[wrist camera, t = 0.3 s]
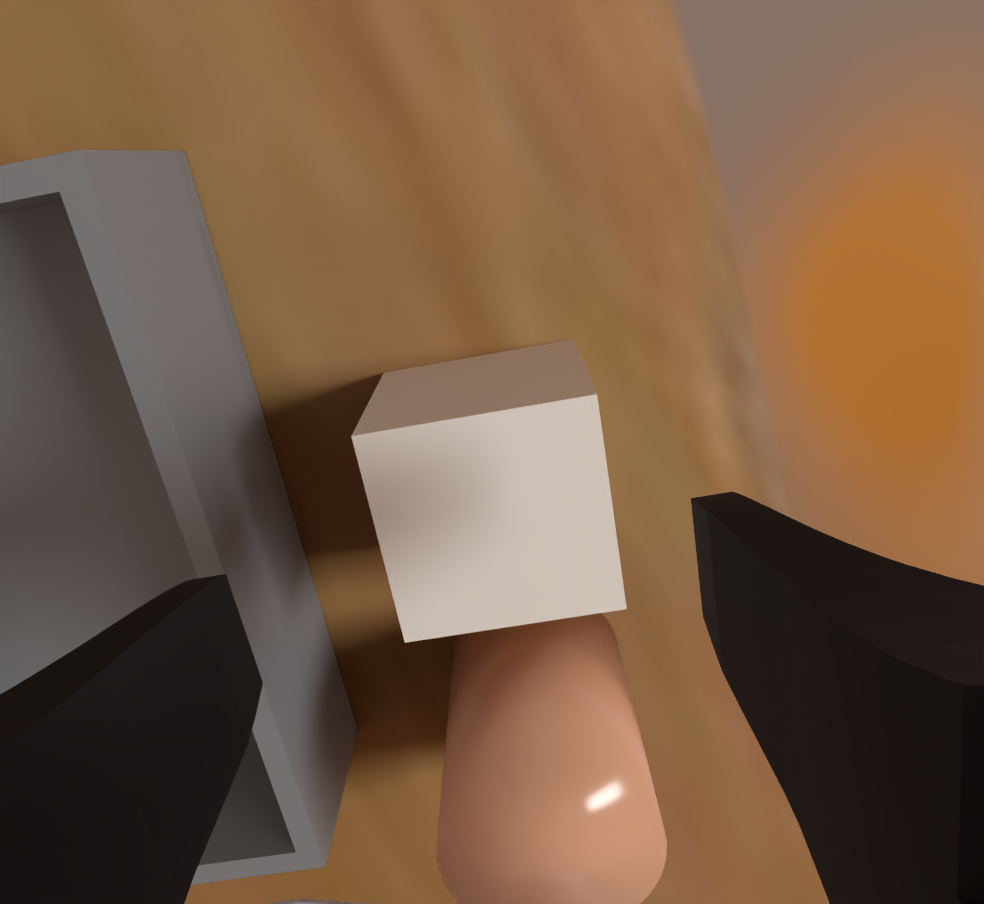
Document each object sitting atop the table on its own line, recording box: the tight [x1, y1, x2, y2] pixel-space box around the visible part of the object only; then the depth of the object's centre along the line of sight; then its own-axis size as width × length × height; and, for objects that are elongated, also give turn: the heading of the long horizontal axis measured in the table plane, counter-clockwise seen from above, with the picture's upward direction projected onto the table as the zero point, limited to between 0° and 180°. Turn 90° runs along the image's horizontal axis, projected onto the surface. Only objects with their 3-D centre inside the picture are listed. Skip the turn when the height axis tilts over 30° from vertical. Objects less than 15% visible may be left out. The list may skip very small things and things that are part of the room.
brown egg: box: [437, 613, 667, 904], centre depth 20 cm, size 5×5×7 cm
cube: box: [351, 339, 627, 643], centre depth 19 cm, size 5×5×5 cm
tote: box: [0, 150, 358, 885], centre depth 20 cm, size 17×13×5 cm
